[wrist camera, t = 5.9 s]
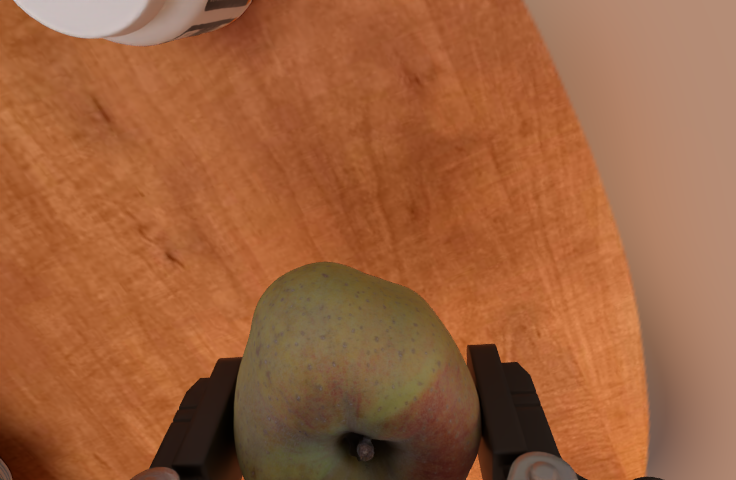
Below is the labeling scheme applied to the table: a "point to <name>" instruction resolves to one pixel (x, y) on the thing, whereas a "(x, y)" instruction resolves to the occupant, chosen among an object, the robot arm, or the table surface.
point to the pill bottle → (134, 18)
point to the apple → (352, 384)
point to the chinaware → (4, 472)
